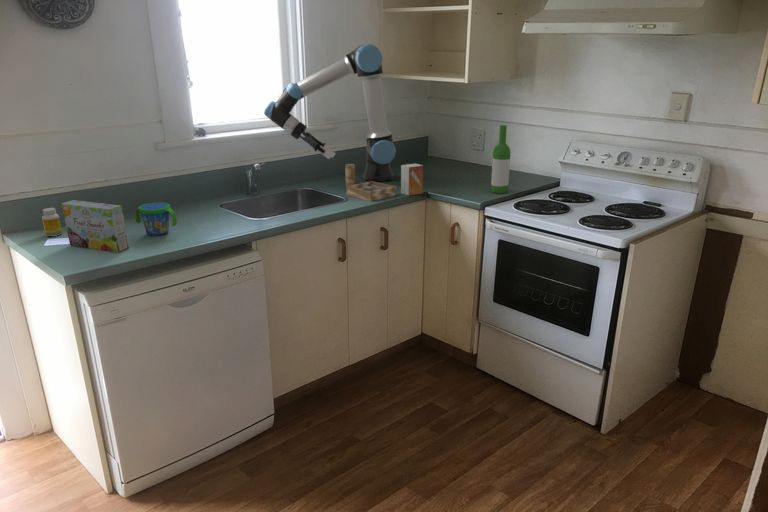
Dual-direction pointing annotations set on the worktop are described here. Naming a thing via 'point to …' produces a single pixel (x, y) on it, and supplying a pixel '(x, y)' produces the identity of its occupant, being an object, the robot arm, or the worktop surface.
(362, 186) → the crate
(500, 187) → the wine bottle
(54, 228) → the supplement bottle
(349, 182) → the peg
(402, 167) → the small box
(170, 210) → the snack cup
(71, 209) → the snack box
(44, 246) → the worktop surface
